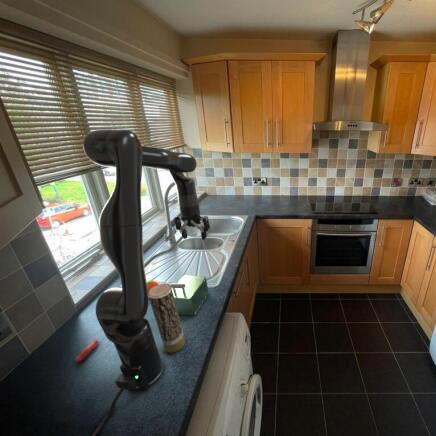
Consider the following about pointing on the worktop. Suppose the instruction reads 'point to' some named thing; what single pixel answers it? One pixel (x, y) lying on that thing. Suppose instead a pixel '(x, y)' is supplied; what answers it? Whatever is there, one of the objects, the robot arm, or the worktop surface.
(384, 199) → the worktop surface
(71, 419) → the worktop surface
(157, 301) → the brown textured cylinder
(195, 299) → the box
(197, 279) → the lid
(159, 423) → the worktop surface
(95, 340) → the red rounded rod
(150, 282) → the tomato
